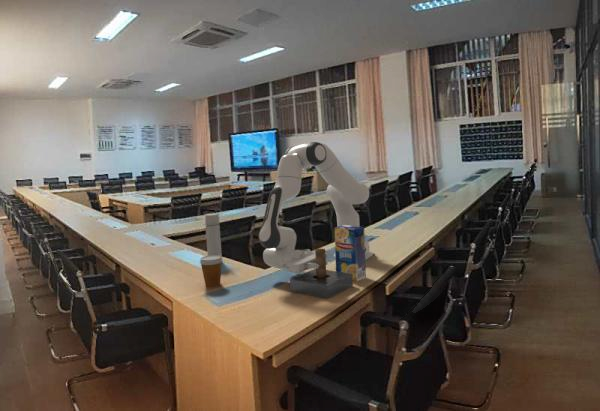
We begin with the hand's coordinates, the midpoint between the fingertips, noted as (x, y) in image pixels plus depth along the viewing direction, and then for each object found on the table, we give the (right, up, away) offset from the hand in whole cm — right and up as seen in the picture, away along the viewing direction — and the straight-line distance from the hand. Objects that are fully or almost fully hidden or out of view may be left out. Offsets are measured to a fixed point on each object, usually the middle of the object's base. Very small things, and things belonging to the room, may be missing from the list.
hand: (322, 264), depth 178 cm
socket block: (0, -10, +2) cm, 10 cm away
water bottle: (-54, -6, +55) cm, 77 cm away
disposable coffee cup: (-47, -11, +14) cm, 50 cm away
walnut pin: (0, -8, +2) cm, 8 cm away
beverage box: (+13, -8, +15) cm, 22 cm away
